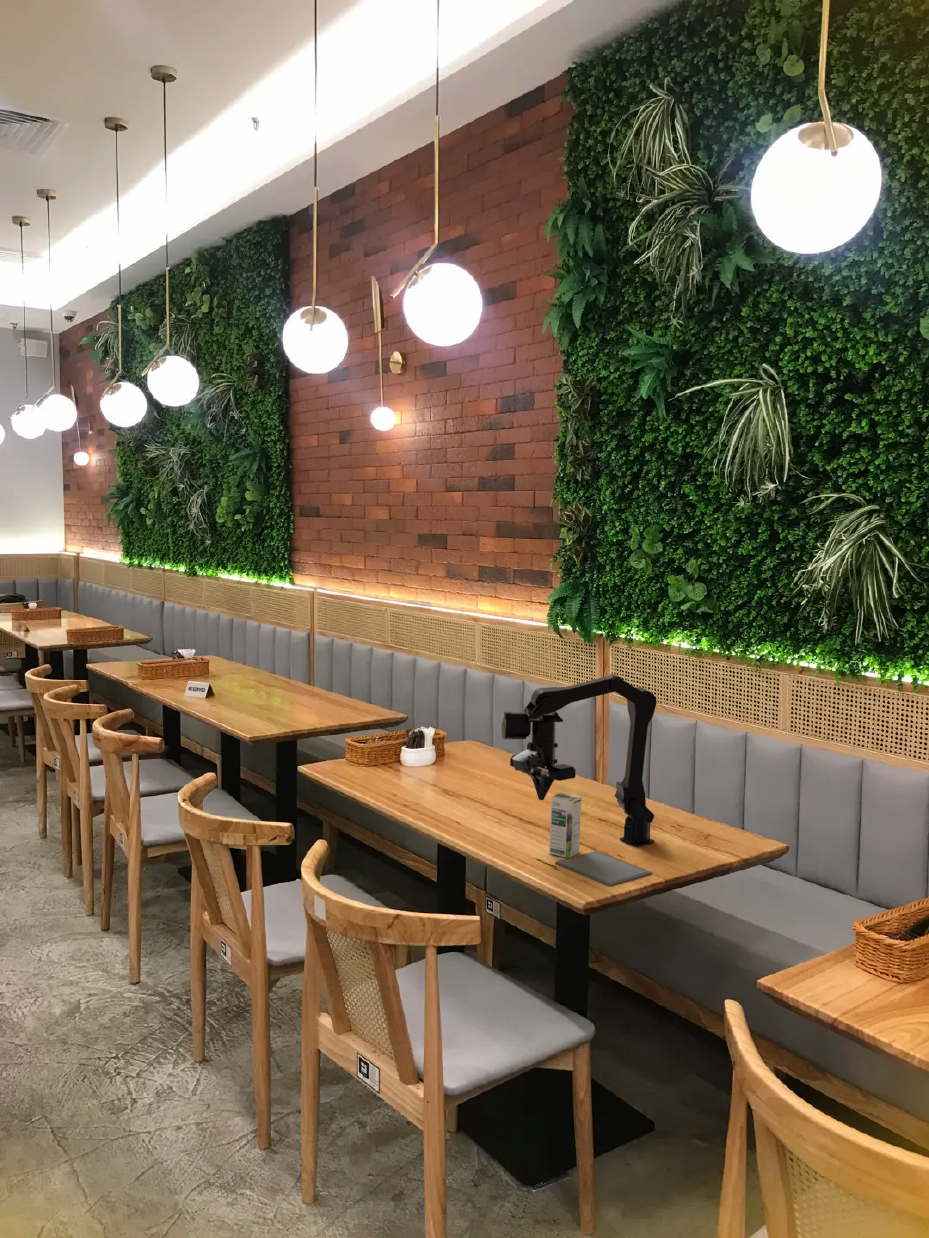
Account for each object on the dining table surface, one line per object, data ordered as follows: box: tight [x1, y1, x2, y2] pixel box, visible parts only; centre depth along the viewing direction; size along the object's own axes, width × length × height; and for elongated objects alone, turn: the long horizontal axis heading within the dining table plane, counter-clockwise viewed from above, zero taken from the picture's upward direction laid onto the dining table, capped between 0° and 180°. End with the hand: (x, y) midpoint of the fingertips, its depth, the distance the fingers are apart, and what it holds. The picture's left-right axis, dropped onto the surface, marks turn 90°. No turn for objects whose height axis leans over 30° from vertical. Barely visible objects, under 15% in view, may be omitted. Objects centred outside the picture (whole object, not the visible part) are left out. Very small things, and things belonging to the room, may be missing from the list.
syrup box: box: [548, 792, 582, 859], centre depth 235 cm, size 6×6×14 cm
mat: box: [554, 850, 653, 887], centre depth 226 cm, size 14×18×1 cm
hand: (541, 799), depth 242 cm, fingers closed
